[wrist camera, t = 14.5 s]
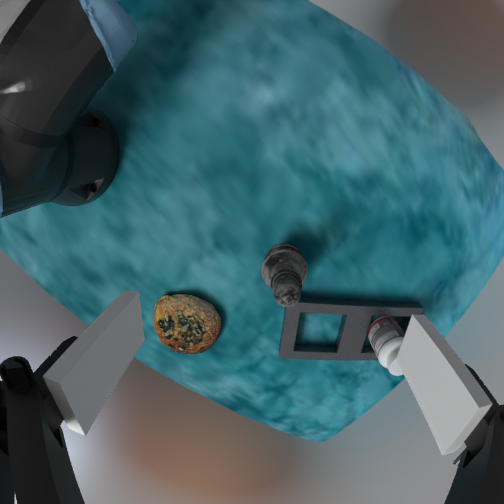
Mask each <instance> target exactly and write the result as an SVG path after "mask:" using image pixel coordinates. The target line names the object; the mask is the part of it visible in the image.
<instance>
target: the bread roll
mask: <svg viewBox="0 0 504 504" xmlns="http://www.w3.org/2000/svg"><path fill="white" fill-rule="evenodd" d="M154 325H155V330H156V332H157V335H158V336H159V339H160V341H161V342H162V343H163V344H164V345H166V346H167V347H168V348H170V349H172V350H173V351H176V352H178V353H185V354H187V353H188V354H189V353H190V354H197V353H203V352H205V351H206V350H208V349H209V348H210V347H211V346H212V345H213V344H214V342H215V341H216V339H217V337H218V336H219V333H220V330H221V319H220V316H219V314H218V313H217V311H216V310H215V308H214V306H213V304H210V303H208V302H206V301H204V300H202V299H199V298H198V297H195V296H192V295H187V294H184V295H183V294H176V295H172V296H168V295H166V296H163V297H161V299H160V300H159V301H158V303H156V305H155V313H154Z"/></svg>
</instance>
